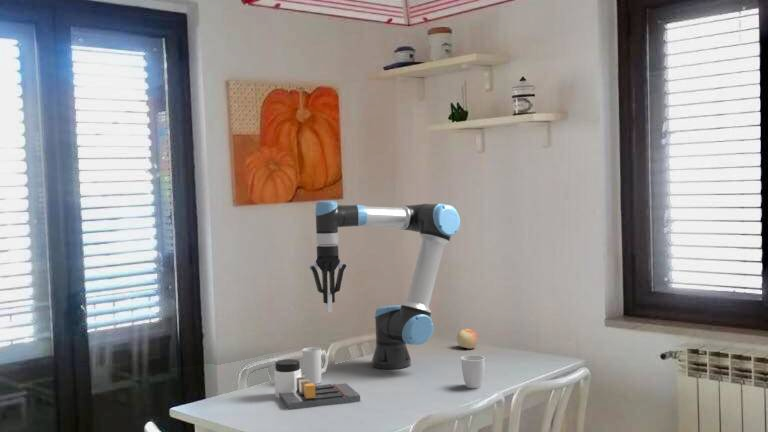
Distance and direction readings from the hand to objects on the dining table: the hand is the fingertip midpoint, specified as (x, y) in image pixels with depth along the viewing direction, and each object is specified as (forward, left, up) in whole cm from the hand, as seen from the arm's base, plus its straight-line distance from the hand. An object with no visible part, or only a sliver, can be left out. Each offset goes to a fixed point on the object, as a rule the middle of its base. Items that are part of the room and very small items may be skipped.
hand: (329, 312), depth 285 cm
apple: (-69, -38, -27) cm, 83 cm away
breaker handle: (+12, +20, -24) cm, 33 cm away
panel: (+8, +14, -26) cm, 31 cm away
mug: (+3, -9, -27) cm, 28 cm away
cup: (-46, +20, -27) cm, 56 cm away
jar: (+17, +6, -27) cm, 32 cm away
